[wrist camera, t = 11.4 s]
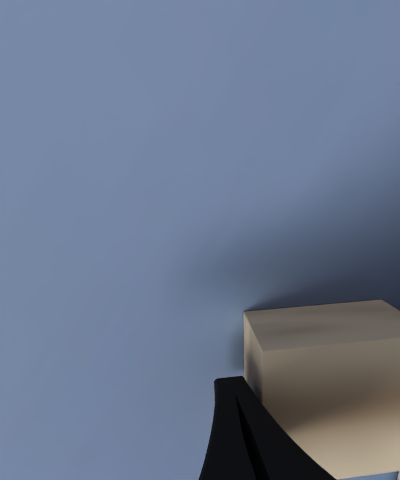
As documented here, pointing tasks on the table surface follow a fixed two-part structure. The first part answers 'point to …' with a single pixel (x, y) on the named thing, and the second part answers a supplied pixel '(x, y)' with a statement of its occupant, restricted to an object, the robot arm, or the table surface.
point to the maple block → (331, 381)
